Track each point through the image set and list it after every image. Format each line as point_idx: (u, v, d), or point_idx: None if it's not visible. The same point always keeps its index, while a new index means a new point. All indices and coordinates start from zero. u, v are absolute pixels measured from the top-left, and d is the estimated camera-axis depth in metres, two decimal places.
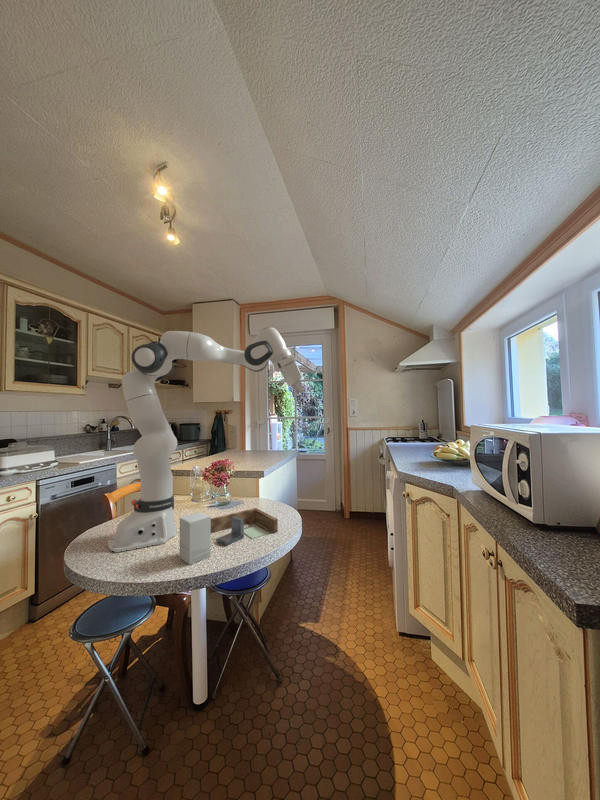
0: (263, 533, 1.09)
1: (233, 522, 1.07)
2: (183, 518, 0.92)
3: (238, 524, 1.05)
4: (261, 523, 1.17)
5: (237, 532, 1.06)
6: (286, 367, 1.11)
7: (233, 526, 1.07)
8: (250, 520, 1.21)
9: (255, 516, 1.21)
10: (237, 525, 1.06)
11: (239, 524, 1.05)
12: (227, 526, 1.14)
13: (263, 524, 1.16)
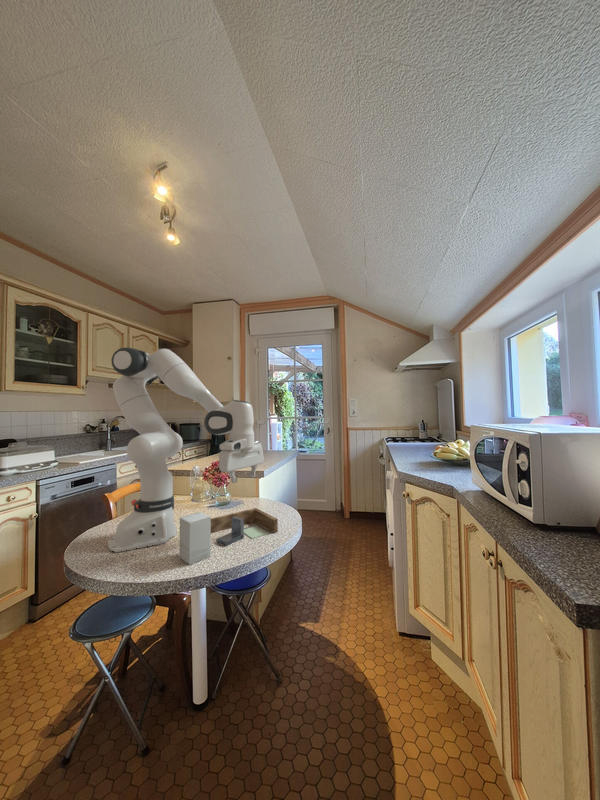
0: (263, 533, 1.09)
1: (233, 522, 1.07)
2: (183, 518, 0.92)
3: (238, 524, 1.05)
4: (261, 523, 1.17)
5: (237, 532, 1.06)
6: (220, 453, 1.02)
7: (233, 526, 1.07)
8: (250, 520, 1.21)
9: (255, 516, 1.21)
10: (237, 525, 1.06)
11: (239, 524, 1.05)
12: (227, 526, 1.14)
13: (263, 524, 1.16)
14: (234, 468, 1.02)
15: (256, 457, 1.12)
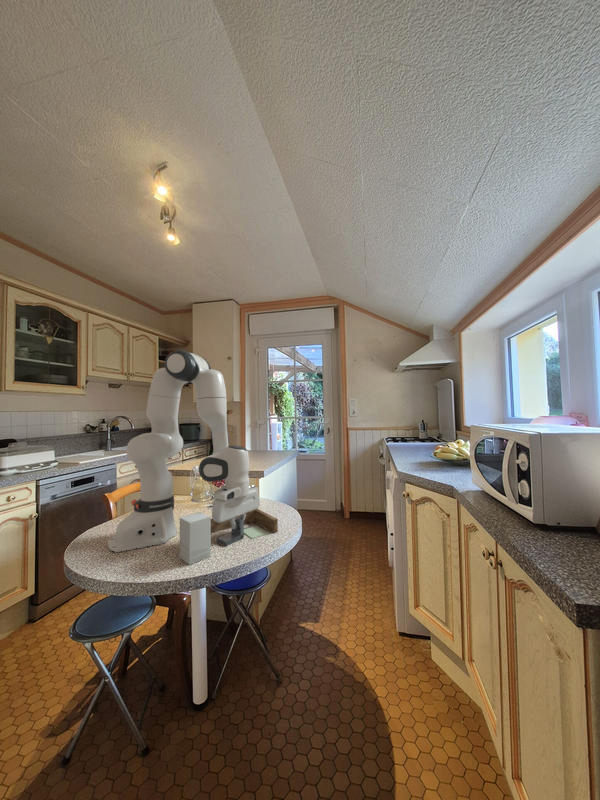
0: (263, 533, 1.09)
1: None
2: (183, 518, 0.92)
3: (238, 524, 1.05)
4: (261, 523, 1.17)
5: (237, 532, 1.06)
6: (214, 502, 1.01)
7: None
8: (250, 520, 1.21)
9: (255, 516, 1.21)
10: None
11: (239, 523, 1.05)
12: (227, 526, 1.14)
13: (263, 524, 1.16)
14: (227, 518, 1.01)
15: (251, 503, 1.10)
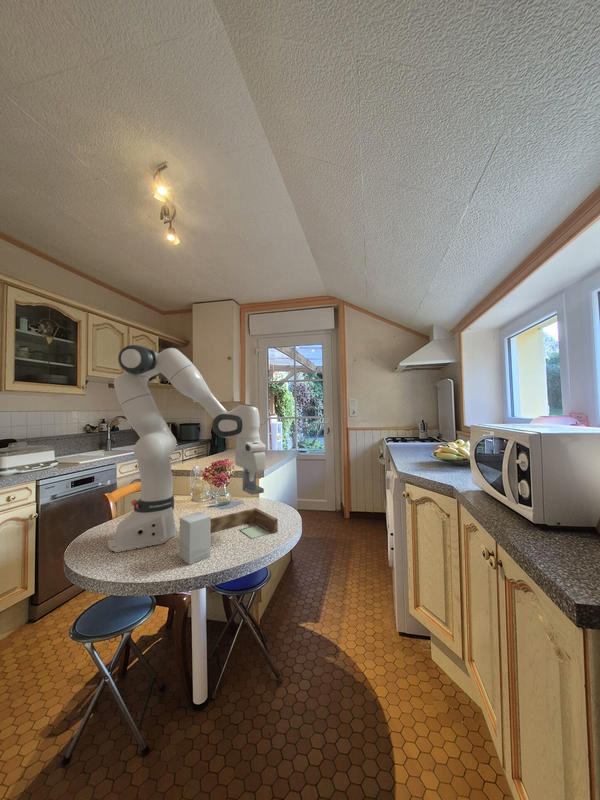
0: (263, 533, 1.09)
1: (246, 476, 1.12)
2: (183, 518, 0.92)
3: None
4: (261, 523, 1.17)
5: (252, 484, 1.13)
6: (255, 454, 1.06)
7: (246, 480, 1.12)
8: (250, 520, 1.21)
9: (255, 516, 1.21)
10: None
11: (254, 475, 1.14)
12: (227, 526, 1.14)
13: (263, 524, 1.16)
14: None
15: None
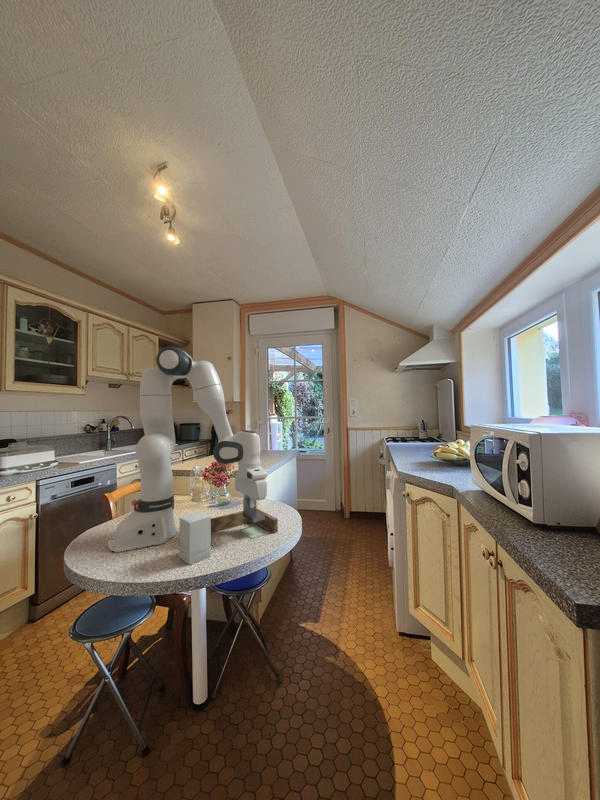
0: (263, 533, 1.09)
1: (247, 503, 1.13)
2: (183, 518, 0.92)
3: None
4: (261, 523, 1.17)
5: (252, 510, 1.14)
6: (257, 482, 1.06)
7: (247, 506, 1.12)
8: None
9: None
10: None
11: (255, 501, 1.15)
12: (227, 526, 1.14)
13: (263, 524, 1.16)
14: None
15: None
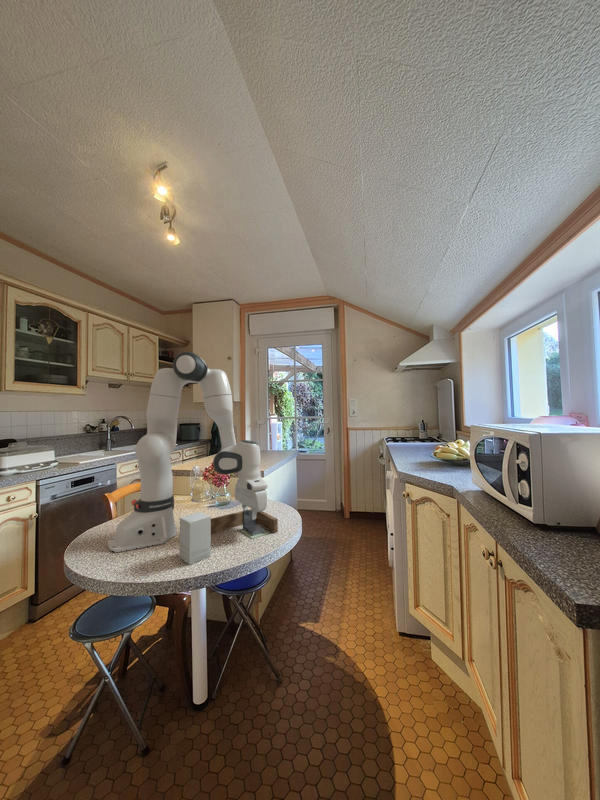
0: (263, 533, 1.09)
1: (246, 516, 1.13)
2: (183, 518, 0.92)
3: None
4: (261, 523, 1.17)
5: (251, 522, 1.14)
6: (257, 494, 1.06)
7: (246, 519, 1.12)
8: None
9: None
10: None
11: None
12: (227, 526, 1.14)
13: (263, 524, 1.16)
14: None
15: None
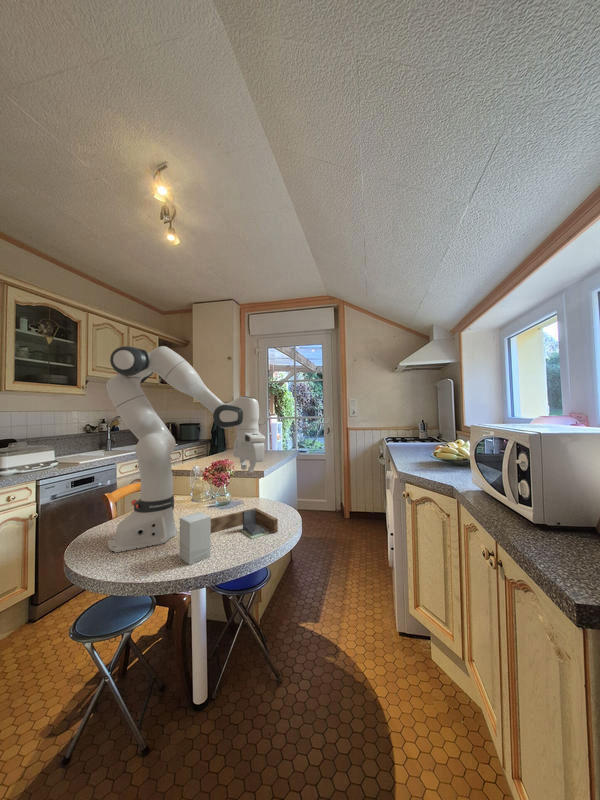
0: (263, 533, 1.09)
1: (246, 516, 1.13)
2: (183, 518, 0.92)
3: (253, 514, 1.14)
4: (261, 523, 1.17)
5: (251, 522, 1.14)
6: (254, 445, 1.08)
7: (246, 519, 1.12)
8: None
9: None
10: (251, 515, 1.14)
11: (254, 513, 1.15)
12: (227, 526, 1.14)
13: (263, 524, 1.16)
14: None
15: None
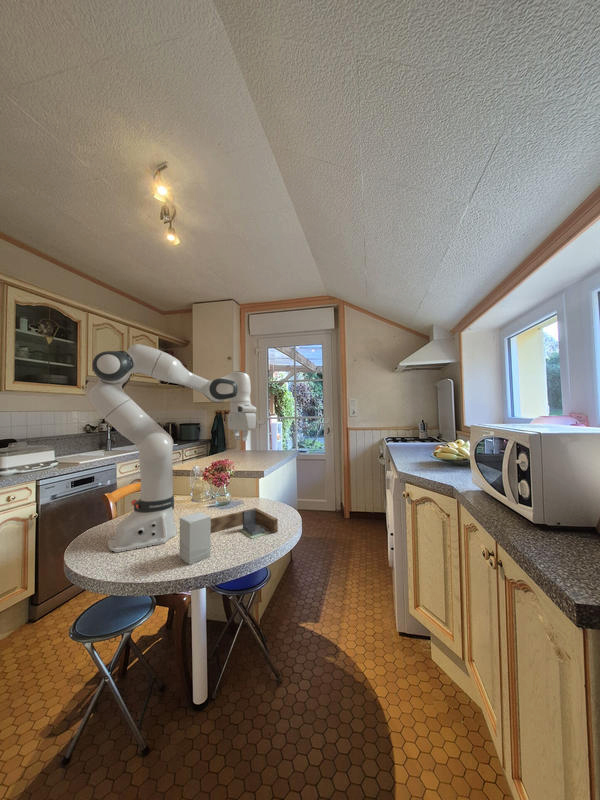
0: (263, 533, 1.09)
1: (246, 516, 1.13)
2: (183, 518, 0.92)
3: (253, 514, 1.14)
4: (261, 523, 1.17)
5: (251, 522, 1.14)
6: (246, 414, 1.18)
7: (246, 519, 1.12)
8: None
9: None
10: (251, 515, 1.14)
11: (254, 513, 1.15)
12: (227, 526, 1.14)
13: (263, 524, 1.16)
14: None
15: None
